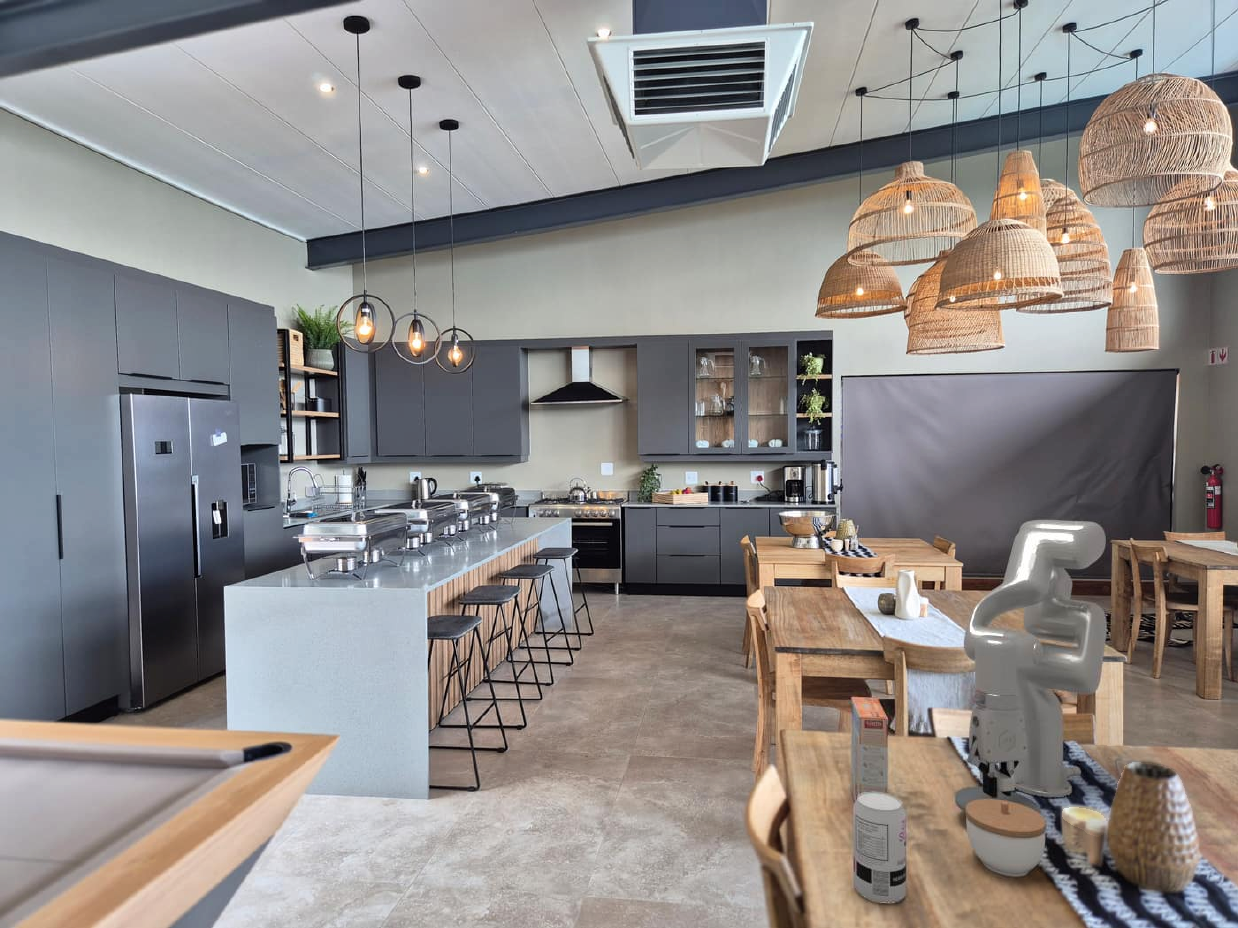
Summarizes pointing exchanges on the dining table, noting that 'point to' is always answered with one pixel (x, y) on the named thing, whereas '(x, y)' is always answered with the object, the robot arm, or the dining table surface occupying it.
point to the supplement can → (879, 847)
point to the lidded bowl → (1005, 835)
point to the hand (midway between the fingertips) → (996, 793)
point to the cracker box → (868, 747)
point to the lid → (1003, 785)
